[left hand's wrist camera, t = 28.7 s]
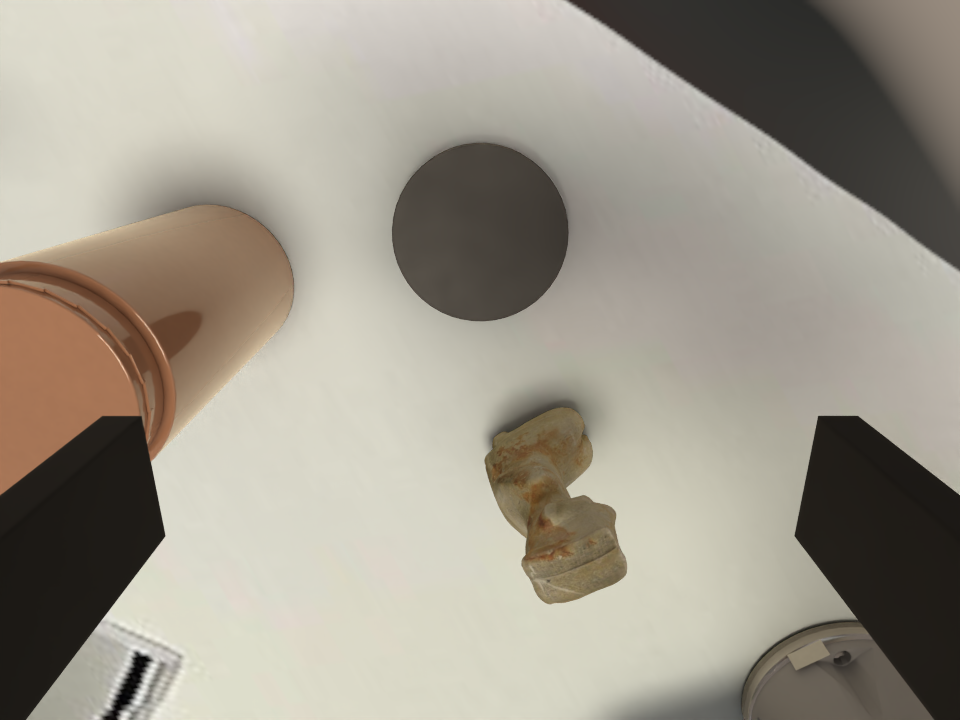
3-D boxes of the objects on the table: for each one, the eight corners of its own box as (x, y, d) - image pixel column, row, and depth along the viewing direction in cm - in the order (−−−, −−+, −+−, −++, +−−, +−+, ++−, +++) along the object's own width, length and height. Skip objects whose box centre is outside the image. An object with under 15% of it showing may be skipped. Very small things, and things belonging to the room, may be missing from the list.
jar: (324, 280, 42) (204, 402, 24) (233, 379, 45) (60, 559, 26) (202, 170, 40) (-36, 212, 22) (113, 281, 42) (-170, 404, 24)
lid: (362, 235, 41) (356, 242, 39) (474, 104, 39) (474, 103, 37) (484, 343, 44) (485, 354, 42) (598, 226, 41) (605, 231, 39)
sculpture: (596, 459, 47) (647, 604, 33) (502, 488, 48) (512, 642, 34) (572, 389, 45) (615, 511, 31) (475, 421, 46) (473, 554, 32)
